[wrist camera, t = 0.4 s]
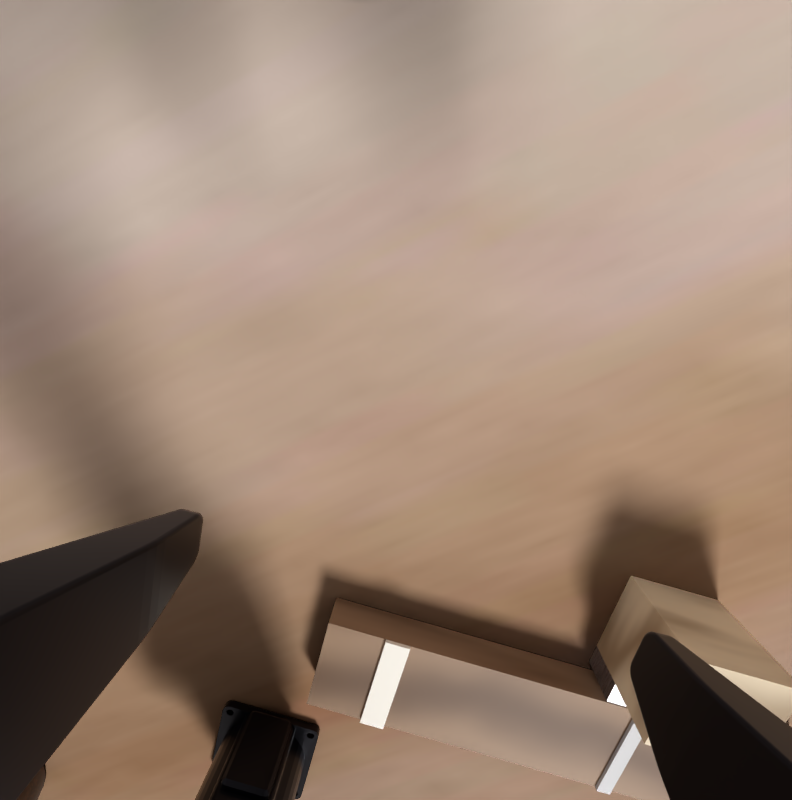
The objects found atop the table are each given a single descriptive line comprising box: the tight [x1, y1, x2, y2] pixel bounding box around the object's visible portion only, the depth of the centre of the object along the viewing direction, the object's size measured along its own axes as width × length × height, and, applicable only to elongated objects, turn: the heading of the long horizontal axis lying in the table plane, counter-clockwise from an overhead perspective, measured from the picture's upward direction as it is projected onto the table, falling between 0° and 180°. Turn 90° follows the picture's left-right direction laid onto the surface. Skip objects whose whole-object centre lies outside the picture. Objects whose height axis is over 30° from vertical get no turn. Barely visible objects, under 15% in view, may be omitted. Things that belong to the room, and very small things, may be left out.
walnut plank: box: [307, 598, 670, 800], centre depth 24 cm, size 6×28×2 cm, turn 75°
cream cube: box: [589, 576, 792, 746], centre depth 21 cm, size 6×5×6 cm
